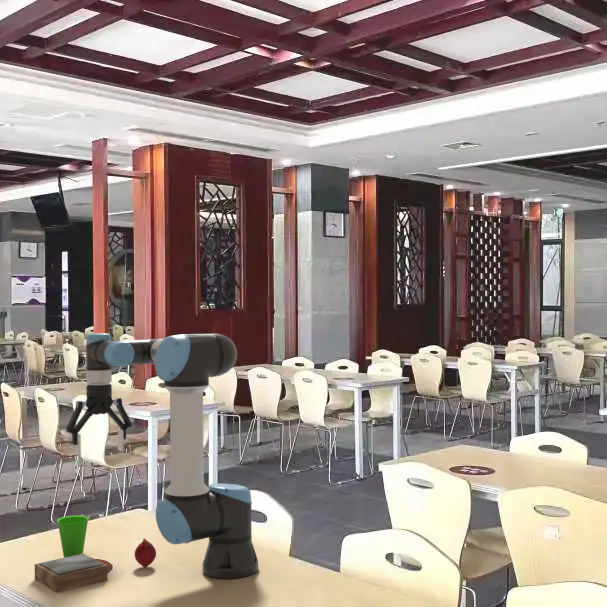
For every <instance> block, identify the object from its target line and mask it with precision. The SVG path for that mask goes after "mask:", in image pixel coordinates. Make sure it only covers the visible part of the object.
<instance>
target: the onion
mask: <svg viewBox="0 0 607 607" xmlns="http://www.w3.org/2000/svg"><path fill="white" fill-rule="evenodd" d="M156 557H157V550H156V548H155V547H154V544H152V543H151V542H150V541H149V540H147V539H146V538H145V537H143V539H142V542H140V543H139V544H138V545H137V547H136V548H135V551H134V560H135V561H136V562H137V563H138V564H139V565H141V567H143V568H147V567H148V566H150V565H151V564H152V563H153V562H154V561H155V559H156Z"/></svg>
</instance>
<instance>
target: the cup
mask: <svg viewBox="0 0 607 607" xmlns="http://www.w3.org/2000/svg"><path fill="white" fill-rule="evenodd" d="M89 520H90V518H89V516H86V515H80V514H79V515H65V516H63V517H60V518H58V519H57V520H56V523H57V525H58V526H57V527H58V530H59V531H58V532H59V536H60V537H59V538H60V543H61V550H62V554H63V558H65V557H70V556H74V555H79V554H84V550H85V549H84V548H85V542H86V537H87V536H86V534H87V530H88V522H89Z"/></svg>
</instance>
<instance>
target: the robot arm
mask: <svg viewBox="0 0 607 607" xmlns="http://www.w3.org/2000/svg"><path fill="white" fill-rule="evenodd" d="M85 340H86V342H85V360H86V361H85V364H86V365H85V366H86V372H85V373H86V378H85V379H86V383H87V385H86V388H85V389H86V400H85V401H81V400H77V401H76V402H75V408H74V411H73V413H72V415H71V417H70V419H69V421H68V424H67V425H66V428H65V431H66V432H67V433H70V434H71V443H72V445H74V447H75V448H74V449H75V450H74V451H75V452H74V455H75V456H77V457H81V456H82V447H81V446H82V445H81V444H82V442H81V440H82V438H81V433H80V431H81V430H82V428H83V427H84V426H85V424H86V423H87V422H88V421H89V419H90V418H91V417H92V416H93V415H94V416H95V415H97V416H98V415H105V414H107V415H108V416H109V417H110V418H111V419H112V421H113V422H114V423H115V424H116V425H117V426H118V427H119V428H118V429H117V451H119V452H124V441H125V440H126V439H127V429H129V428H131V427H132V426H133V424H132V421H131V420H130V418H129V416H128V413H127V412H126V409H125V408H124V406H123V399H122V398H121V397H115V398H112V397H113V396H112V395H113V394H112V393H113V391H112V388H113V387H112V386H113V385H112V384H111V383H112V382H113V380H112V377H113V376H112V367H115V368H119V367H120V368H123V367H127V366H135V365H137V366H139V365H154V369H155V371H156V376H157V377H158V378H159V379H160V380H161V381H162V382H163V387H164V388H165V389H166V390H167V391H168V392H169V414H170V415H169V423H170V424H169V425H170V426H169V428H170V429H169V431H170V434H169V435H170V436H169V437H170V438H169V439H170V444H169V445H170V446H169V447H170V456H169V457H170V460H169V461H170V484H169V485H168V486H167V487H166V489H165V490H164V499H162V500H161V501H159V502H158V503H157V506H156V508H155V520H156V525H157V528H158V531H159V532H160V534H161V536H162V537H163V539H165V541H166V542H168V543H169V544H171V545H181V544H186V545H187V544H189V543H191V542H196V541H200V540H205V539H208V545H207V547H206V551H205V554H204V559H203V560H202V573H203V575H206V576H208V577H211V578H216V579H224V580H225V579H239V578H244V577H248V576H251V575H253V574H256V573H257V572H258V571H259V559H258V557H257V554H256V550H255V546H254V544H253V541H252V540H253V539H252V504H253V502H252V495H251V493H252V492H251V491H250V489H249V488H248V487H247V486H244V485H240V484H234V483H233V484H232V483H211V484H209V485H208V486H207V485H206V484H205V480H204V478H205V476H204V474H205V473H204V392H205V390H206V389H208V387H209V386H210V378H214V377H215V378H216V377H219V376H223V375H225V374H227V373H228V372H230V371H231V370H232V369H233V368H234V366H235V364H236V362H237V359H238V350H237V347H236V344H235V342H233V340H232V339H231V338H230V337H228V336H227V335H224V334H219V333H190V334H186V333H185V334H184V333H182V334H175V335H169V336H167V337H165V338H153V339H151V338H150V339H129V340H127V339H126V340H112V335H111V334H110V333H106V332H104V333H101V332H99V333H98V332H97V333H89V334H87V335H86V339H85ZM112 405H114V406H115V407H116V409H117V411H118V414H119V416H120V417H121V419H122V420H123V421H122V420H121V419H120V417H119V416H118V415H117V414H116V413H115V411H114V410H113V409H112V408H111V407H112ZM85 407H86V408H87V409H86V410H85V411H84V414H83V415H82V416H81V417H80V415H81V413H82V411H83V409H84V408H85ZM79 417H80V419H79ZM77 421H78V422H77Z"/></svg>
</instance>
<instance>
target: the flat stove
mask: <svg viewBox="0 0 607 607" xmlns="http://www.w3.org/2000/svg"><path fill="white" fill-rule="evenodd" d="M108 567H109V566H108V564H106V563H104V562H102V561H100V560H98V559H97V558H96V559H95V558H94V557H92V556H90V555H87V554H86V553H83V554H79V555H74V556H70V557H65V558H64V557H61V558H57V559H53V560H48V561H44V562H38V563H34V580H35V581H37V582H39V583H40V584H42V585H43V586H45V587H46V588H48V589H50V590H52V591H53V592H55V593H56V594H60V593H62V592H66V591H70V590H75V589H78V588H82V587H87V586H90V585H95V584H99V583H103V582H107V581H108V579H109V578H108V576H109V575H108V570H109V568H108Z"/></svg>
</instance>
